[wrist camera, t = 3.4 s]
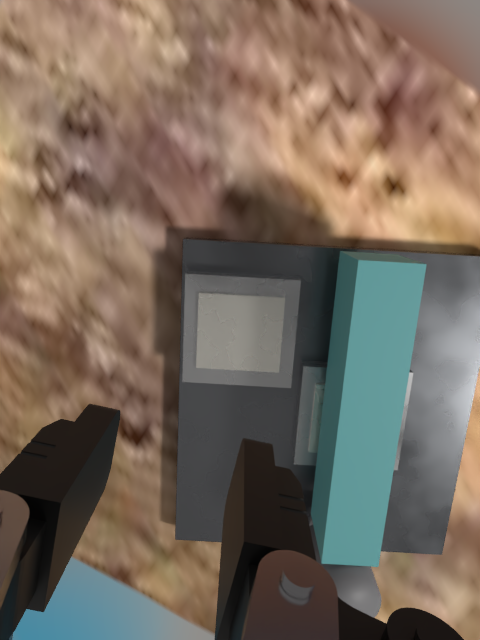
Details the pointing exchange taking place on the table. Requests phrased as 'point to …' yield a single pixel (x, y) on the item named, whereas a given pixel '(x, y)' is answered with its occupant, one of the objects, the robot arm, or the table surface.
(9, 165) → the table surface
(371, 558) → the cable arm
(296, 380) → the board
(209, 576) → the table surface
